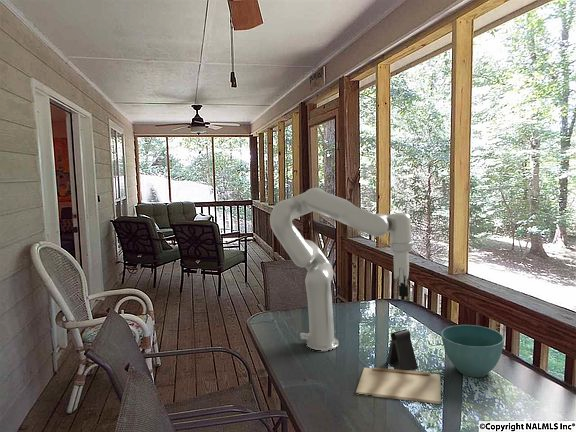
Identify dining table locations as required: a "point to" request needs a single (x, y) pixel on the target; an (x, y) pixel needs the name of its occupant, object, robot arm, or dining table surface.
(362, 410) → the dining table surface
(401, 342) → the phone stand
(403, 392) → the board
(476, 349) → the plant pot
